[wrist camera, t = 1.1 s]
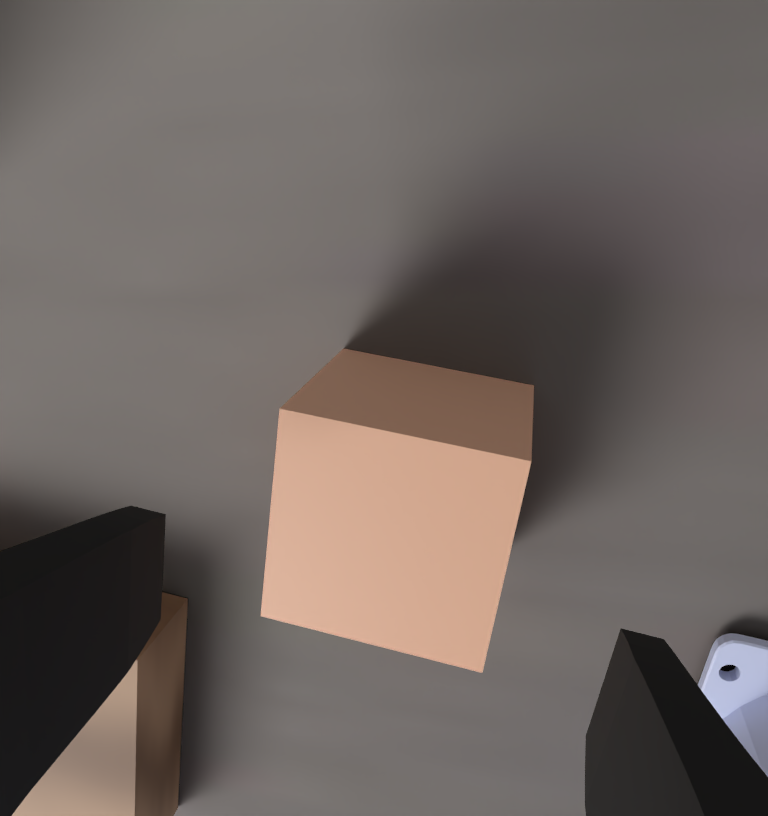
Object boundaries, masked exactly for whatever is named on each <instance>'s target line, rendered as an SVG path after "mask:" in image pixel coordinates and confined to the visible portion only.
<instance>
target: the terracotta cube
mask: <svg viewBox="0 0 768 816" xmlns="http://www.w3.org/2000/svg"><path fill="white" fill-rule="evenodd" d="M533 403H534V385H529V384H524V383H519V382H514V381H509V380H504V379H498V378H493V377H488V376H483V375H478V374H473V373H468V372H462V371H457V370H452V369H447V368H442V367H437V366H432V365H426V364H421V363H416V362H411V361H406V360H401V359H395V358H390V357H385V356H380V355H375V354H370V353H365V352H359V351H354V350H349V349H343V350H342V351H340V352H339V353H338V354H337V355H336V356H335V357H334V358H333V359H332V360H331V361H330V362H329V363H328V364H327V365H326V366H325V367H323V368H322V369H321V370H320V371H319V372H318V373H317V374H316V375H315V376H314V377H313V378H312V379H311V380H310V381H309V382H308V383H306V384H305V385H304V386H303V387H302V388H301V389H300V390H299V391H298V392H297V393H296V394H295V395H294V396H293V397H292V398H291V399H289V400H288V401H287V402H286V403H285V404H284V405H283V406H282V407H281V408H280V411H279V422H278V433H277V444H276V455H275V466H274V476H273V487H272V498H271V509H270V520H269V531H268V542H267V553H266V563H265V574H264V585H263V596H262V607H261V616H262V617H266V618H270V619H274V620H278V621H282V622H286V623H290V624H293V625H297V626H301V627H305V628H309V629H313V630H317V631H321V632H325V633H329V634H333V635H336V636H340V637H344V638H348V639H352V640H356V641H360V642H364V643H368V644H372V645H376V646H379V647H383V648H387V649H391V650H395V651H399V652H403V653H407V654H411V655H415V656H419V657H423V658H426V659H430V660H434V661H438V662H442V663H446V664H450V665H454V666H458V667H462V668H466V669H469V670H473V671H477V672H481V673H482V672H483V668H484V663H485V659H486V655H487V650H488V646H489V642H490V638H491V633H492V629H493V625H494V620H495V616H496V612H497V607H498V603H499V599H500V595H501V590H502V586H503V582H504V577H505V573H506V569H507V565H508V560H509V556H510V552H511V547H512V543H513V539H514V534H515V530H516V526H517V522H518V517H519V513H520V509H521V504H522V500H523V496H524V491H525V487H526V483H527V479H528V474H529V470H530V466H531V461H532V432H533Z"/></svg>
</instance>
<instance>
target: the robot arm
mask: <svg viewBox="0 0 768 816" xmlns="http://www.w3.org/2000/svg"><path fill="white" fill-rule="evenodd" d="M165 516H166V514H162V513H158V512H154V511H150V510H146V509H142V508H138V507H134V506H129V507H125V508H121V509H118V510H115V511H111V512H108V513H105V514H102V515H100V516H97V517H94V518H91V519H88V520H86V521H83V522H80V523H77V524H75V525H72V526H69V527H66V528H64V529H61V530H58V531H56V532H53V533H50V534H47V535H45V536H42V537H39V538H36V539H34V540H31V541H28V542H25V543H23V544H20V545H17V546H14V547H12V548H9V549H6V550H3V551H0V816H12V814H13V813H14V812H15V810H16V809H17V808H18V807H19V805H20V804H21V803H22V801H23V800H24V799H25V797H26V796H27V795H28V793H29V792H30V791H31V790H32V789H33V787H34V786H35V785H36V784H37V782H38V781H39V780H40V779H41V778H42V776H43V775H44V774H45V773H46V772H47V770H48V769H49V768H50V767H51V766H52V764H53V763H54V762H55V761H56V760H57V758H58V757H59V756H60V755H61V754H62V752H63V751H64V750H65V749H66V747H67V746H68V745H69V744H70V743H71V741H72V740H73V739H74V738H75V737H76V735H77V734H78V733H79V732H80V731H81V729H82V728H83V727H84V726H85V725H86V723H87V722H88V721H89V720H90V719H91V717H92V716H93V715H94V714H95V713H96V711H97V710H98V709H99V708H100V706H101V705H102V704H103V703H104V701H105V700H106V699H107V698H108V697H109V695H110V694H111V693H112V692H113V690H114V689H115V688H116V687H117V685H118V684H119V683H120V682H121V680H122V679H123V678H124V677H125V675H126V674H127V673H128V671H129V670H130V668H131V667H132V665H133V664H134V662H135V661H136V659H137V657H138V656H139V654H140V653H141V651H142V650H143V648H144V647H145V645H146V643H147V642H148V640H149V638H150V637H151V635H152V633H153V632H154V630H155V628H156V627H157V625H158V623H159V622H160V620H161V603H162V581H163V559H164V538H165ZM725 665H734V666H736V667H735V668H734V669H733V670H731V671H721V670H720V669H721V667H723V666H725ZM585 808H586V816H768V641H766V640H762V639H758V638H754V637H749V636H745V635H741V634H734V633H729V634H725V635H722V636H720V637H719V638H717V639H716V640H715V642H714V643H713V645H712V648H711V650H710V653H709V656H708V658H707V661H706V664H705V667H704V669H703V672H702V675H701V678H700V680H699V683H698V685H697V684H696V682H695V681H694V680H693V678H692V677H691V675H690V674H689V673H688V671H687V670H686V668H685V667H684V666H683V664H682V663H681V662H680V660H679V659H678V657H677V656H676V655H675V653H674V652H673V651H672V649H671V648H670V647H669V645H668V644H667V643H666V642H665V640H664V639H661V638H657V637H653V636H649V635H645V634H641V633H637V632H633V631H629V630H625V629H621V630H620V633H619V636H618V639H617V642H616V645H615V648H614V651H613V654H612V657H611V660H610V663H609V667H608V670H607V673H606V676H605V679H604V682H603V685H602V688H601V691H600V694H599V697H598V700H597V703H596V707H595V710H594V713H593V716H592V719H591V722H590V725H589V728H588V731H587V734H586V756H585Z"/></svg>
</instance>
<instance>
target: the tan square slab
mask: <svg viewBox="0 0 768 816" xmlns="http://www.w3.org/2000/svg"><path fill="white" fill-rule="evenodd" d="M187 606H188V599H187V598H183V597H179V596H175V595H171V594H167V593H164V592H162V603H161V620H160V622H159V623H158V625H157V627H156V628H155V630H154V632H153V633H152V635H151V637H150V638H149V640H148V642H147V643H146V645H145V647H144V648H143V650H142V651H141V653H140V654H139V656H138V657H137V659H136V661H135V662H134V664H133V665H132V667H131V668H130V670H129V671H128V673H127V674H126V675H125V677H124V678H123V679H122V680H121V682H120V683H119V684H118V685H117V687H116V688H115V689H114V690H113V692H112V693H111V694H110V695H109V697H108V698H107V699H106V700H105V701H104V703H103V704H102V705H101V706H100V708H99V709H98V710H97V711H96V713H95V714H94V715H93V716H92V717H91V719H90V720H89V721H88V722H87V723H86V725H85V726H84V727H83V728H82V729H81V731H80V732H79V733H78V734H77V735H76V737H75V738H74V739H73V740H72V741H71V743H70V744H69V745H68V746H67V747H66V749H65V750H64V751H63V752H62V754H61V755H60V756H59V757H58V758H57V760H56V761H55V762H54V763H53V764H52V766H51V767H50V768H49V769H48V770H47V772H46V773H45V774H44V775H43V776H42V778H41V779H40V780H39V781H38V782H37V784H36V785H35V786H34V787H33V789H32V790H31V791H30V792H29V793H28V795H27V796H26V797H25V799H24V800H23V801H22V803H21V804H20V805H19V807H18V808H17V809H16V810H15V812H14V813H13V814H12V816H173V815H174V814H175V812H176V810H177V808H178V795H179V774H180V753H181V732H182V711H183V690H184V669H185V648H186V627H187Z"/></svg>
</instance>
